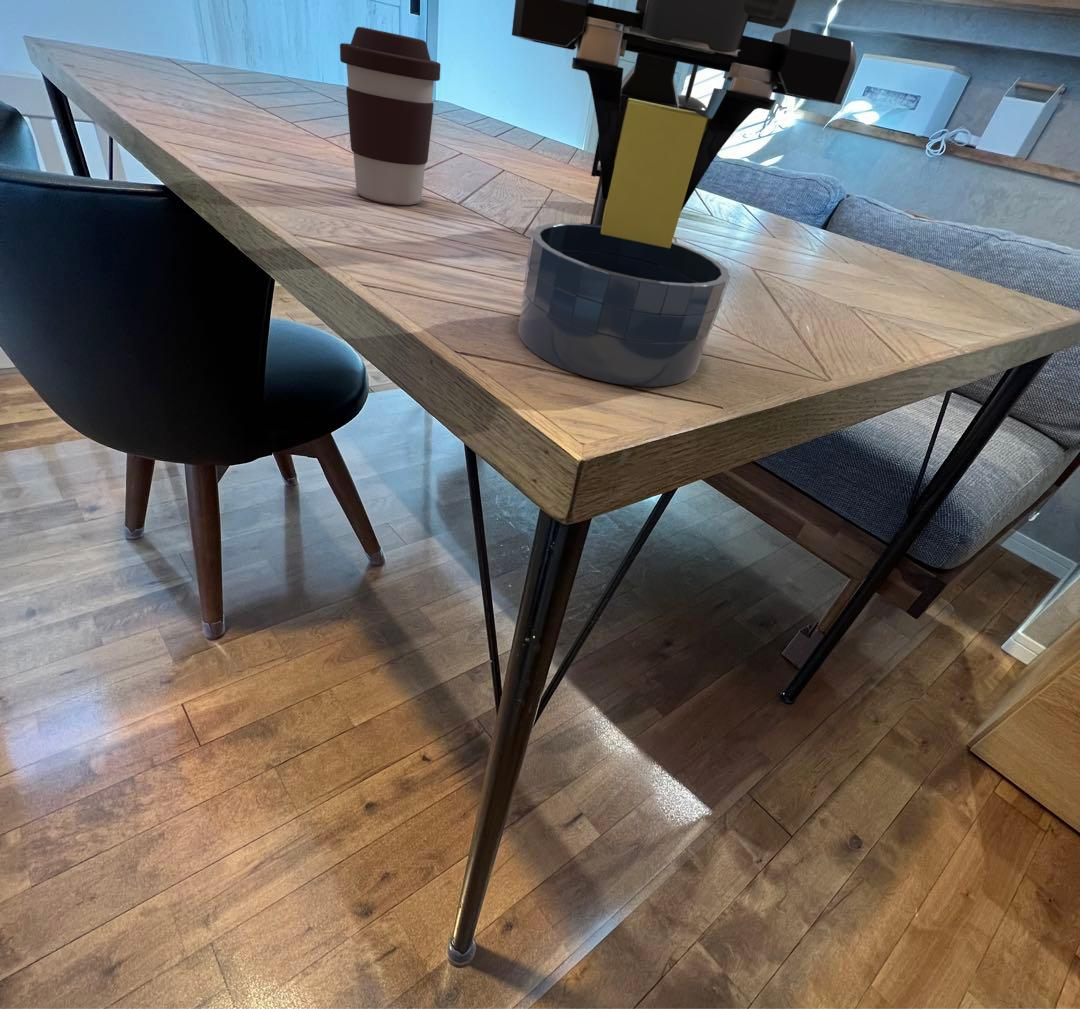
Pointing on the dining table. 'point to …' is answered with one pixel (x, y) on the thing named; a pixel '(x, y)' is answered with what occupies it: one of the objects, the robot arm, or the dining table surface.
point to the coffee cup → (389, 113)
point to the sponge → (651, 172)
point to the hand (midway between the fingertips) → (640, 206)
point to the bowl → (618, 305)
